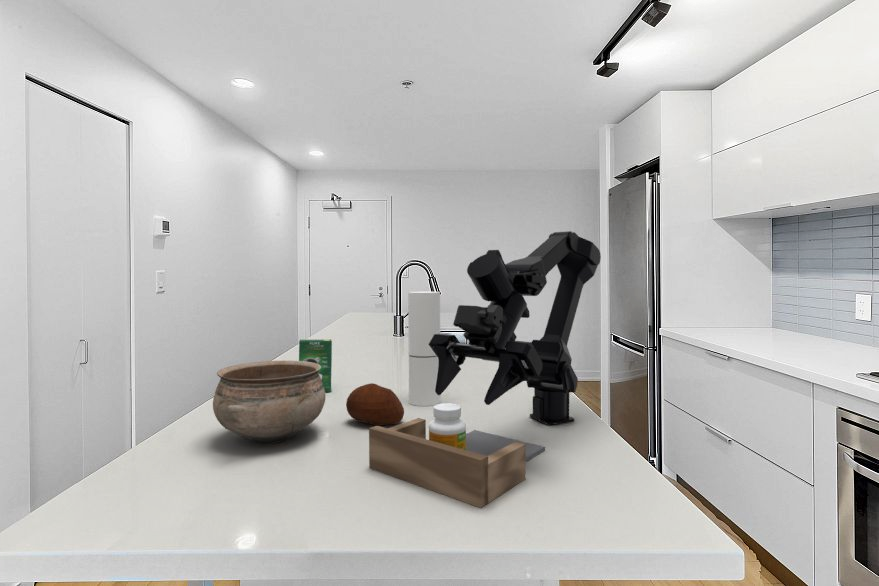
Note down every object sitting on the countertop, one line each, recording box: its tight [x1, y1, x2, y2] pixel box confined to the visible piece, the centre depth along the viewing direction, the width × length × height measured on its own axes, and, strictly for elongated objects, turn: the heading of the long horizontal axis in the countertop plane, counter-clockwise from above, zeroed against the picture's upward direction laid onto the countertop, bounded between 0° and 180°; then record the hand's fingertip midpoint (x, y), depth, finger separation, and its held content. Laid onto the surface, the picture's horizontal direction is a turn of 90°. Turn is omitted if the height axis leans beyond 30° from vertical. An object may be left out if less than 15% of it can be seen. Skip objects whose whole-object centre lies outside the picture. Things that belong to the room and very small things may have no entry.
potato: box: [345, 382, 405, 426], centre depth 95 cm, size 8×12×8 cm, turn 85°
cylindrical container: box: [407, 291, 441, 407], centre depth 111 cm, size 7×7×25 cm
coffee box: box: [298, 339, 333, 393], centre depth 121 cm, size 8×3×13 cm, turn 103°
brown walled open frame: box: [368, 417, 527, 509], centre depth 71 cm, size 11×20×6 cm, turn 51°
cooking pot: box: [212, 360, 326, 444], centre depth 88 cm, size 25×19×12 cm
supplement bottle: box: [428, 402, 467, 450], centre depth 72 cm, size 5×5×10 cm
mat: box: [466, 429, 546, 463], centre depth 81 cm, size 12×14×1 cm
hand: (460, 398), depth 74 cm, fingers open, 9 cm apart
